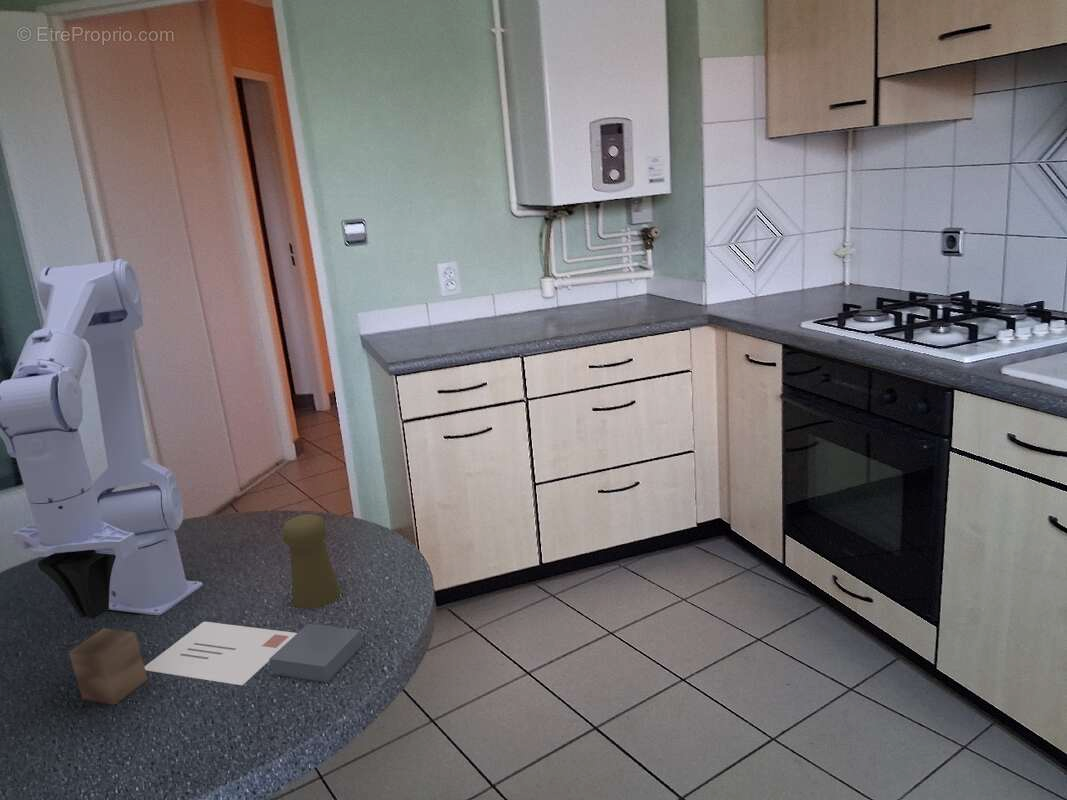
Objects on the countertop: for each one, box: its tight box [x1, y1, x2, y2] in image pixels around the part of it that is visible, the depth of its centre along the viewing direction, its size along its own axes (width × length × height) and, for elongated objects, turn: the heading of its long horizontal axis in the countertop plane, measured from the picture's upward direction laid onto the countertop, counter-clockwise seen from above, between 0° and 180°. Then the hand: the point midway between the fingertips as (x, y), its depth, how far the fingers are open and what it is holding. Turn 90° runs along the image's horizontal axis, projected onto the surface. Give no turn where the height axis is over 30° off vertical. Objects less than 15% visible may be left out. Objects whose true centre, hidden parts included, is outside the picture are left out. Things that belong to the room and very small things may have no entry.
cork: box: [282, 513, 341, 610], centre depth 100 cm, size 6×6×11 cm
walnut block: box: [68, 627, 148, 706], centre depth 85 cm, size 4×4×6 cm
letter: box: [144, 621, 298, 686], centre depth 91 cm, size 14×10×1 cm
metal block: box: [269, 623, 364, 683], centre depth 87 cm, size 7×7×2 cm
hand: (94, 612), depth 83 cm, fingers closed
